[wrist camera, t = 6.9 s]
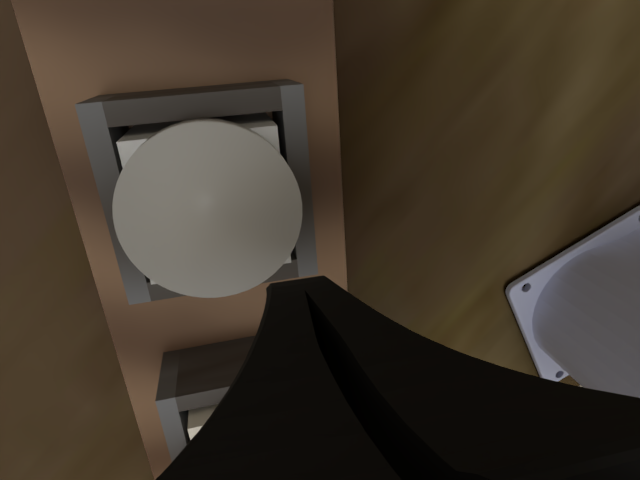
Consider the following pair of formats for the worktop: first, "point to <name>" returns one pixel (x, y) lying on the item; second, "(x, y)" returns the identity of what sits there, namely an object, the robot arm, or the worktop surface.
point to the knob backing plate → (174, 105)
